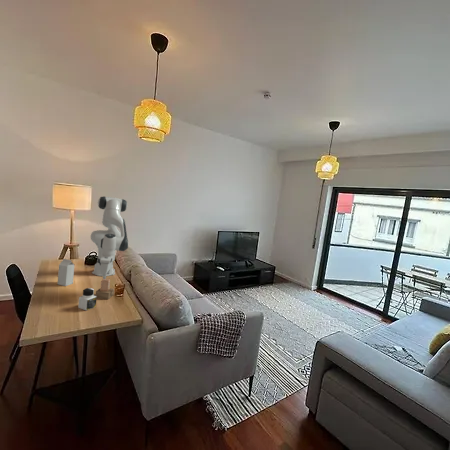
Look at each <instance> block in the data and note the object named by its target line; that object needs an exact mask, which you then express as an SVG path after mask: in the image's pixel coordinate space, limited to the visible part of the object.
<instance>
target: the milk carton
mask: <svg viewBox="0 0 450 450" xmlns="http://www.w3.org/2000/svg"><path fill="white" fill-rule="evenodd" d="M74 275H75V264H74V263H73V262H72V259H66V258H62V261H61V262H60V263H59V264H58V274H57V285H58V286H63V287H67V286H69V285H72V284H74Z"/></svg>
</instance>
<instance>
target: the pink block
mask: <svg viewBox="0 0 450 450" xmlns="http://www.w3.org/2000/svg"><path fill="white" fill-rule="evenodd" d="M110 285H111V279H110V278H106V279H103V278H102V280H101V281H100V288H101V289H100V288H99V289H100V291H108V290H109V288H111V287H110Z"/></svg>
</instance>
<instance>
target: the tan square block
mask: <svg viewBox="0 0 450 450" xmlns="http://www.w3.org/2000/svg"><path fill="white" fill-rule="evenodd" d="M100 289H101V287H100V288H98V289H97V290H96V291H95V294H94V296H96V297H97V298H96V299H99V298H100V299H101V300H108V301H109V300H110V299H111V298H112V297H113V296H114V295H115V288H112V287H109V290H108V291H100Z"/></svg>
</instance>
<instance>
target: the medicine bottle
mask: <svg viewBox="0 0 450 450" xmlns="http://www.w3.org/2000/svg"><path fill="white" fill-rule="evenodd" d="M94 293H95V289H94V288H92V287H87V288H84V289H83V290H82V295H81V296H79V297H78V307H77V308H78V309H80V310H84V311H89V310H91V309H94V308H96V306H97V299H98V298H97V297H96V296H95V294H94Z"/></svg>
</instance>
